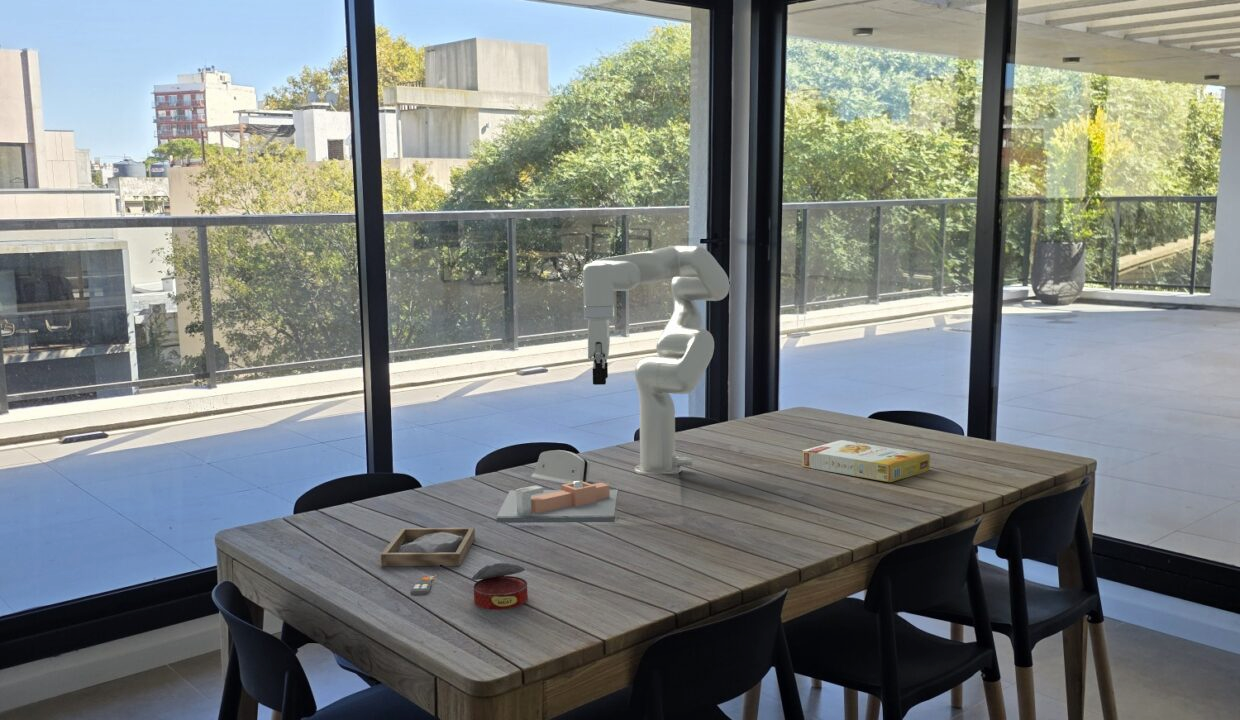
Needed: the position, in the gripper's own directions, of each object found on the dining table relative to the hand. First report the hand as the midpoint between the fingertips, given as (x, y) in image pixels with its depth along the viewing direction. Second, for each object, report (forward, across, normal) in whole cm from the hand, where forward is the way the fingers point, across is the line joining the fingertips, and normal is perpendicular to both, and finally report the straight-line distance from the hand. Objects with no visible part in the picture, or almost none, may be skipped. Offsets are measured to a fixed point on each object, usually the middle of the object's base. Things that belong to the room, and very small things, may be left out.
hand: (600, 381), depth 269 cm
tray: (+28, +48, -34) cm, 65 cm away
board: (+28, +16, -10) cm, 34 cm away
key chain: (+29, +67, -31) cm, 79 cm away
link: (+27, +17, -7) cm, 32 cm away
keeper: (+28, +24, -16) cm, 40 cm away
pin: (+28, +15, -5) cm, 32 cm away
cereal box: (+29, -22, +70) cm, 79 cm away
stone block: (+29, +49, -34) cm, 66 cm away
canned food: (+29, +76, -15) cm, 83 cm away
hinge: (+29, -8, -11) cm, 32 cm away
